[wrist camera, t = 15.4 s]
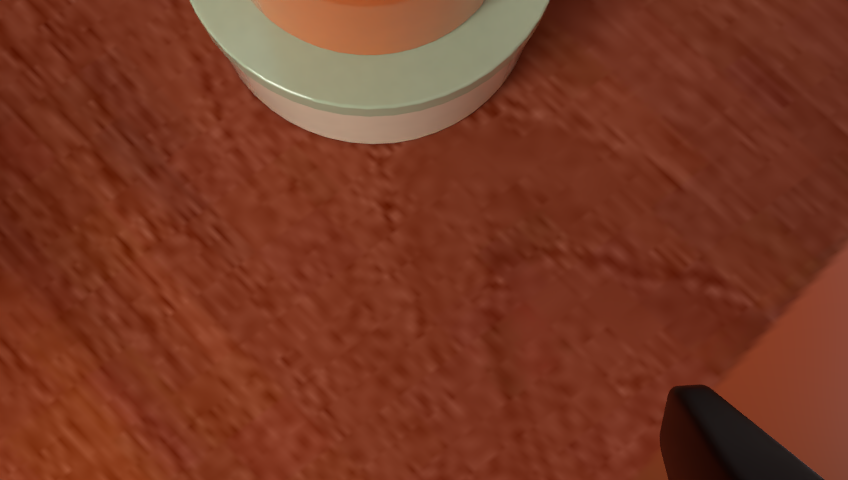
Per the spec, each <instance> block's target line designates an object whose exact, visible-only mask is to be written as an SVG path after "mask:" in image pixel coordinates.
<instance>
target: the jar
mask: <svg viewBox="0 0 848 480" xmlns="http://www.w3.org/2000/svg"><path fill="white" fill-rule="evenodd" d="M190 2H191V5H192V7H193V9H194V11H195V13H196V15H197V17H198V19H199V20H200V22H201V24H202V25H203V27H204V28H205V30H206V31H207V33H208V34H209V36H210V37H211V39H212V40H213V42H214V43H215V44H216V45H217V46H218V47H219V49H220V50H221V51H222V52H223V53H224V54H225V55H226V57H227V58H228V59H229V60H230V62H231V64H232V66H233V67H234V69H235V70H236V72H237V73H238V75H239V76H240V78H241V79H242V81H243V82H244V83H245V84H246V85H247V87H248V88H249V89H250V90H251V91H252V92H253V93H254V95H255V96H256V97H257V98H259V99H260V100H261V101H262V102H263V103H264V104H265V105H267V106H268V107H269V108H270V109H271V110H273V111H274V112H276V113H277V114H279V115H280V116H282V117H283V118H285V119H286V120H288V121H289V122H291V123H293V124H295V125H297V126H299V127H301V128H303V129H305V130H307V131H310V132H313V133H316V134H319V135H322V136H325V137H328V138H331V139H336V140H341V141H346V142H352V143H365V144H382V143H396V142H402V141H407V140H413V139H417V138H420V137H423V136H427V135H430V134H433V133H436V132H438V131H440V130H443V129H445V128H447V127H449V126H451V125H453V124H455V123H457V122H459V121H460V120H462V119H463V118H465V117H467V116H468V115H470V114H471V113H473V112H474V111H475V110H476V109H478V108H479V107H480V106H481V105H482V104H484V103H485V102H486V101H487V100H488V99H489V98H490V97H491V96H492V95H493V94H494V93H495V92H496V91H497V90H498V89H499V88H500V86H501V85H502V84H503V83H504V81H505V80H506V78H507V77H508V75H509V74H510V73H511V71H512V70H513V68H514V66H515V64H516V62H517V60H518V58H519V56H520V54H521V52H522V51H523V48H524V46H525V44H526V43H527V41H528V40H529V39H530V37H531V36H532V34H533V33H534V31H535V30H536V28H537V27H538V25H539V23H540V21H541V19H542V17H543V15H544V13H545V11H546V9H547V7H548V5H549V2H550V0H486V1H485V2H484V3H483V4H482V5H481V7H480V8H479V9H478V10H477V11H476V12H475V13H474V14H473V15H472V16H471V17H470V18H469V19H468V20H466V21H465V22H464V23H463V24H461V25H460V26H459V27H457V28H456V29H454V30H453V31H452V32H450V33H448V34H446V35H445V36H443V37H441V38H439V39H437V40H435V41H433V42H431V43H428V44H426V45H423V46H420V47H418V48H415V49H411V50H407V51H403V52H398V53H392V54H383V55H354V54H347V53H339V52H335V51H331V50H327V49H323V48H320V47H317V46H315V45H312V44H310V43H307V42H304V41H302V40H300V39H298V38H296V37H295V36H293V35H291V34H289V33H287V32H286V31H284V30H283V29H281V28H280V27H279V26H277V25H276V24H275V23H273V22H272V21H271V20H269V19H268V18H267V17H266V16H265V15H264V14H263V13H262V12H261V11H260V10H259V9H258V8H257V7H256V6H255V5H254V3H253V2H252V1H251V0H190Z"/></svg>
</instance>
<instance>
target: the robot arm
mask: <svg viewBox="0 0 848 480" xmlns="http://www.w3.org/2000/svg"><path fill="white" fill-rule="evenodd" d="M660 447H661V452H662V456H663V460H664V464H665V468H666V471H667V475H668V479H669V480H824V479H823V478H822V477H820V476H819V475H818V474H817V473H816V472H814V471H813V470H812V469H810V468H809V467H808V466H807V465H805V464H804V463H803V462H802V461H800V460H799V459H798V458H797V457H796V456H794V455H793V454H792V453H791V452H789V451H788V450H787V449H786V448H784V447H783V446H782V445H781V444H779V443H778V442H777V441H775V440H774V439H773V438H772V437H771V436H769V435H768V434H767V433H765V432H764V431H763V430H762V429H761V428H759V427H758V426H757V425H755V424H754V423H753V422H752V421H751V420H749V419H748V418H747V417H746V416H744V415H743V414H742V413H741V412H739V411H738V410H737V409H736V408H734V407H733V406H732V405H731V404H729V403H728V402H727V401H726V400H724V399H723V398H722V397H721V396H719V395H718V394H717V393H716V392H714V391H713V390H712V389H711V388H709V387H707V386H705V385H685V386H675V387H673V388H672V389H671V390H670V391H669V394H668V397H667V402H666V407H665V412H664V416H663V421H662V426H661V431H660Z"/></svg>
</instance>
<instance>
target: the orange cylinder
mask: <svg viewBox="0 0 848 480" xmlns="http://www.w3.org/2000/svg"><path fill="white" fill-rule="evenodd" d="M251 1H252V2H253V3H254V5H255V6H256V7H257V8H258V9H259V10H260V11H261V12H262V13H263V14H264V15H265V16H266V17H267V18H268V19H269V20H271V21H272V22H273V23H275V24H276V25H277V26H279V27H280V28H281V29H283V30H284V31H286V32H287V33H289V34H291V35H293V36H295V37H296V38H298V39H300V40H302V41H304V42H307V43H310V44H312V45H315V46H317V47H320V48H323V49H327V50H331V51H335V52H339V53H347V54H354V55H383V54H392V53H398V52H403V51H407V50H411V49H415V48H418V47H420V46H423V45H426V44H428V43H431V42H433V41H435V40H437V39H439V38H441V37H443V36H445V35H446V34H448V33H450V32H452V31H453V30H454V29H456V28H457V27H459V26H460V25H461V24H463V23H464V22H465V21H466V20H468V19H469V18H470V17H471V16H472V15H473V14H474V13H475V12H476V11H477V10H478V9H479V8H480V7H481V5H482V4H483V3H484V2H485V1H486V0H251Z"/></svg>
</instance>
